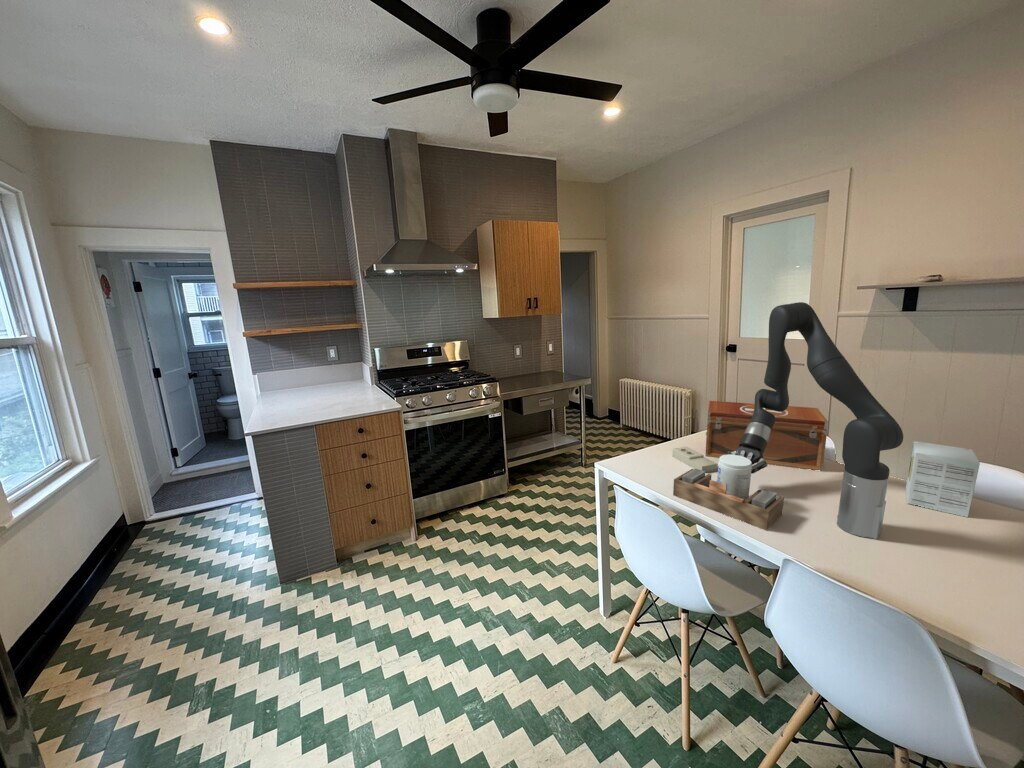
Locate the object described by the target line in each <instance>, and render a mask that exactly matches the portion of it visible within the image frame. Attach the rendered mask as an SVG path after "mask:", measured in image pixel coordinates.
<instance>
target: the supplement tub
mask: <svg viewBox="0 0 1024 768" xmlns="http://www.w3.org/2000/svg"><path fill="white" fill-rule="evenodd" d="M717 464H718V465H717V476H716V482H719V483H722V484H725V485H727V491H726V493H727V494H730V495H733V496H736V497H739V498H742V499H744V501H745V500H746V499H748V498H749V497H750V488H751V487H750V485H751V479H752V478H751V477H752V474H751V469H752V466H753V465H752V462H751V461H750V460H749V459H747V458H745V457H742V456H738V455H722V456H720V458H718V463H717ZM751 465H752V466H751Z"/></svg>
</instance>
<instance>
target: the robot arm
mask: <svg viewBox="0 0 1024 768" xmlns="http://www.w3.org/2000/svg"><path fill="white" fill-rule="evenodd" d="M769 314H770V315H769V318H768V355H767V356H768V357H767V358H768V359H767V364H766V370H765V374H764V377H763V378H764V379H763V383H764V384H765V385H764V386H767V387H768V388H771V389H768V388H761V389H759V390H758V391H756V392H755V395H754V404H755V407H754V413H753V416H752V418H751V421H750V423H749V425H748V427H747V428H746V430H745V433H744V435H743V437H742V440H741V442H740V444H739V447H738V448H737V449H736V450H735V451H734V452H730V451H728V452H727V453H728V455H736V454H737V455H738V456H742V457H745V458H747V459H749V460H750V461H751V462H752V465H751V466H752V469H751V475H753V474H755V473H757V472H758V471H761V470H763V469H765V468H766V467H768V464H767V462H766V461H765V460H763V452H764V450H765V447H766V445H767V442H768V441H769V437H770V434H771V430H772V428H773V425H774V423H775V420H776V418H775V416H774V415H773V414H772V413H770V412H768V411H766V410H764V409H763V408H765V409H770V410H773V411H778V412H782V411H784V410H786V409H787V407H788V406H790V396H789V390H788V388H789V387H788V383H789V380H790V379H789V378H790V376H791V375H790V374H791V370H792V362H791V359H790V356H789V354H788V352H787V349H786V346H785V342H786V338H787V335H788V333H791V332H792V333H793V332H799V333H800V335H801V336H802V337H803V339H804V341H805V343H806V345H807V356H806V367H807V370H808V372H809V374H810V375H811V376H812V378H813V379H814V381H815V382H816V384H817V385H818V386H819V387H820V389H822V390H823V391H825V392H826V393H827V394H828V395H830V396H831V397H833V398H835V399H836V400H837V401H838V402H841V403H842V404H843V405H844V406H846V407H847V408H848V409H849V410H850V411H851V413H852V414H853V415H854V417H855V419H853V420H851V421H849V422H848V423H847V424H846V426H845V428H844V432H843V437H842V451H841V452H842V453H841V457H842V461H843V463H844V467H843V476H842V482H841V488H840V489H841V490H840V496H839V497H840V498H839V505H838V511H837V512H838V513H837V516H836V517H837V519H836V525H837V526H838V528H840V529H842V530H843V531H845V532H847V533H849V534H852V535H854V536H858V537H863V538H871V539H874V540H878V538H879V536H880V534H881V533H882V528H883V522H884V516H885V512H886V511H885V510H886V506H887V505H886V504H887V501H886V496H887V489H888V485H889V479H890V467H889V466H888V465H887V464H885V463H883V462H880V457H881V456H880V455H881V452H883V451H888V450H893V449H894V450H895V449H896V448H899V447H900V446H901V445H902V444H903V441H904V433H903V430H902V427H901V426H900V425H899V423H898V421H897V420H896V419H895V418H894V417H893V416H892V415H891V414H890V413H889V412H888V410H887V409H885V407H884V406H883V405H882V404H881V403H880V402H879V401H878V400H877V398H875V396H874V395H873V394H872V393H871V392H870V390H869V389H868V387H867V386H866V384H864V382H863V381H862V379H861V378H860V377H859V376H858V374H857V373H856V371H855V369H854V368H853V367H852V366H851V364H850V363H849V361H848V360H847V359H846V357H845V356H844V355H843V353H842V352H841V351H840V350H839V348H838V347H837V345H836V344H835V342H834V341H833V340H832V338H831V337H830V335H829V334H828V333H827V331H826V329H825V327H824V326H823V324H822V322H821V321H820V318H819V317H818V314H817V313H816V311H815V310H814V308H813V307H812V306H811V305H809V303H806V302H804V301H803V302H802V301H801V302H799V301H798V302H792V303H786V304H780V305H777V306H775V307H774V308H773V309H772V310H771V311H770V313H769ZM772 389H773V390H772ZM757 462H758V463H757Z"/></svg>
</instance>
